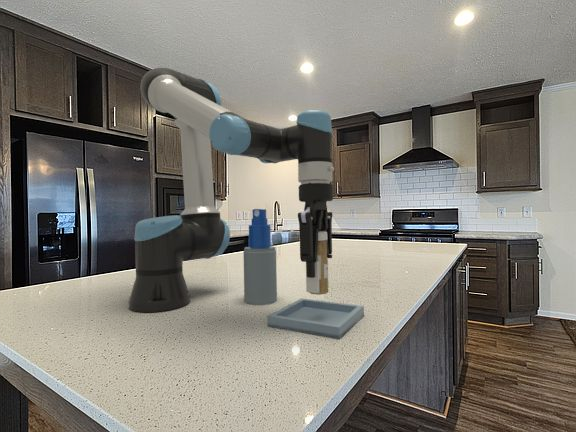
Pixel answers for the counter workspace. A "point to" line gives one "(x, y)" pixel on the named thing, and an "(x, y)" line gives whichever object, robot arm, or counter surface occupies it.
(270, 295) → the spray bottle
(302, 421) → the counter surface
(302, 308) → the tray
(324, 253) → the sprinkles bottle
